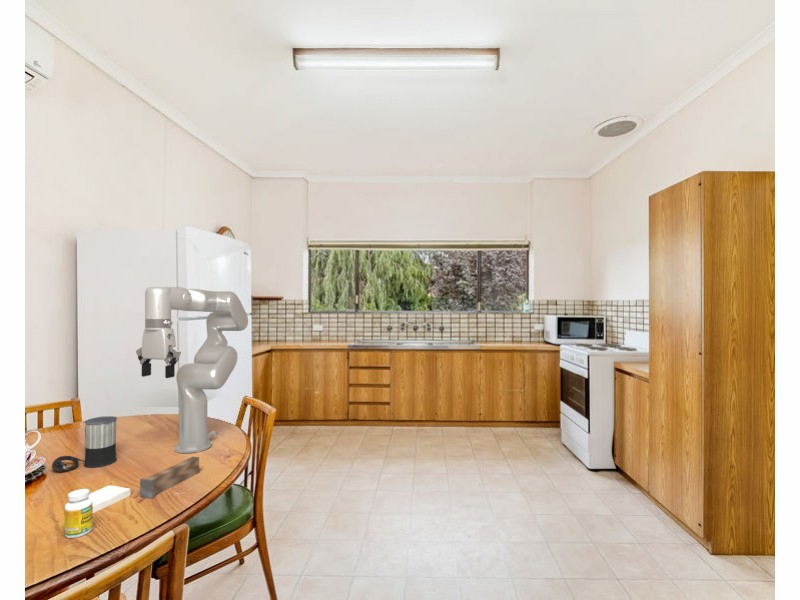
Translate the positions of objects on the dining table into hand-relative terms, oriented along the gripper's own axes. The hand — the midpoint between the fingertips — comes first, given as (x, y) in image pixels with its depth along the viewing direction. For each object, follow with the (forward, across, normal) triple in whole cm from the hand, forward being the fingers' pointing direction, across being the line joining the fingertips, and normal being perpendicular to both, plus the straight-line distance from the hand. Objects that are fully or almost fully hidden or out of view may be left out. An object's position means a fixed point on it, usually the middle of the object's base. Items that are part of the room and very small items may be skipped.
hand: (158, 376), depth 140 cm
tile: (+30, -4, +17) cm, 34 cm away
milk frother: (+31, +25, +5) cm, 40 cm away
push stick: (+30, -14, +8) cm, 34 cm away
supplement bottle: (+31, -14, +36) cm, 49 cm away
